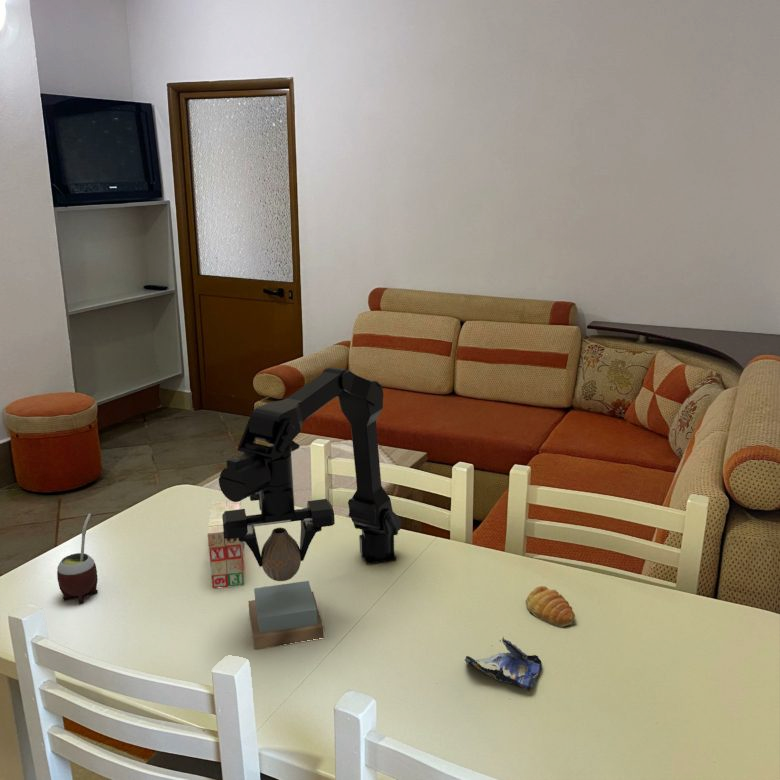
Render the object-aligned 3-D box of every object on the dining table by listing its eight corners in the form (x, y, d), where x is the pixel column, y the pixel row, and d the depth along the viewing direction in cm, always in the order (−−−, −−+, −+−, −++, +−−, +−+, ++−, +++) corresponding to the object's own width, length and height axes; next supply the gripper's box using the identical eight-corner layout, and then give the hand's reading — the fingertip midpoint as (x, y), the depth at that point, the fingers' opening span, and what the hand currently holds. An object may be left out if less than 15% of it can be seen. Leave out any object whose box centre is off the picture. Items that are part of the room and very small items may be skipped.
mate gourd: (61, 609, 143) (50, 537, 139) (60, 589, 150) (49, 520, 146) (103, 600, 146) (93, 529, 142) (100, 581, 153) (90, 512, 149)
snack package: (499, 643, 131) (451, 670, 124) (506, 613, 129) (457, 639, 122) (554, 687, 123) (506, 718, 116) (562, 655, 121) (514, 686, 113)
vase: (308, 569, 136) (305, 524, 134) (291, 588, 130) (288, 542, 128) (273, 563, 139) (270, 519, 136) (255, 582, 132) (251, 536, 130)
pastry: (584, 622, 137) (585, 603, 136) (555, 634, 133) (556, 615, 132) (548, 598, 144) (549, 580, 143) (520, 608, 141) (521, 590, 140)
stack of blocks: (215, 539, 170) (210, 488, 166) (244, 536, 171) (240, 486, 167) (212, 589, 150) (207, 532, 146) (245, 586, 151) (240, 529, 147)
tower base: (313, 605, 144) (312, 591, 144) (324, 641, 133) (323, 626, 132) (249, 615, 142) (248, 600, 141) (254, 653, 130) (253, 638, 130)
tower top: (309, 594, 142) (308, 580, 142) (317, 624, 133) (316, 609, 132) (255, 602, 140) (254, 588, 139) (259, 633, 131) (258, 618, 130)
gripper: (322, 457, 139) (326, 535, 143) (217, 469, 135) (225, 548, 139) (333, 480, 129) (337, 563, 133) (220, 493, 124) (227, 579, 129)
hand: (281, 562), depth 134 cm, fingers closed on vase, 7 cm apart
